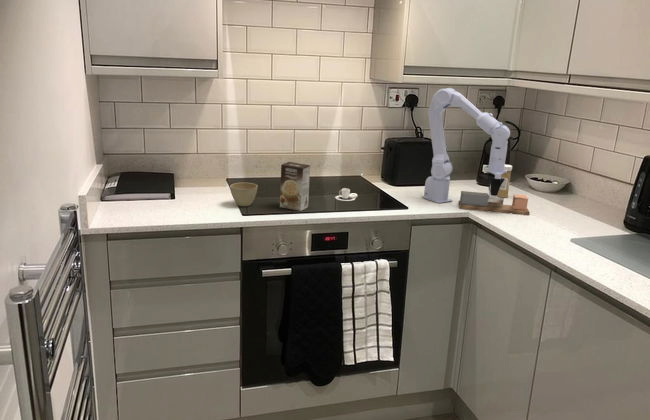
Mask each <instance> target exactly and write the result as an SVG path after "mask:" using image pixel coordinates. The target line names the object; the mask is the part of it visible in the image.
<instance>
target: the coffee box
mask: <svg viewBox="0 0 650 420" xmlns="http://www.w3.org/2000/svg"><path fill="white" fill-rule="evenodd" d="M310 170H311V165H310V164H306V163H301V162H300V163H299V162H294V161H287V162H285V163H282V164H281V165H280V190H279V191H280V192H279V208H284V209H289V210H293V211H299V212H300V211H303V210H305V209H307V208H309V196H310V195H309V193H310V173H311V171H310Z"/></svg>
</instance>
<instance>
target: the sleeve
mask: <svg viewBox="0 0 650 420" xmlns="http://www.w3.org/2000/svg"><path fill="white" fill-rule="evenodd" d="M488 197H489V192H478V191H468V190H467V191H466V190H465V191H464V190H461V191H460V197H459V201H460V205H469V206H480V207H487V205H488Z"/></svg>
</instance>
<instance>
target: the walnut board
mask: <svg viewBox="0 0 650 420" xmlns="http://www.w3.org/2000/svg"><path fill="white" fill-rule="evenodd" d="M457 203H458V208H459V209H460V210H466V211H467V210H468V211H477V210H478V212H479V211H480V212H488V211H491V212H490V213H499V212H500V213H501V214H510V213H512V214H511V215H522V216H523V215H524V216H530V211H529V209H528V208H527V209H526V211H521V210H514V209H513V207H512V204H504V203H503V205H495V204H488V205H487V207H480V206H469V205H460V200H458V202H457Z"/></svg>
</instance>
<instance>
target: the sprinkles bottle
mask: <svg viewBox="0 0 650 420" xmlns="http://www.w3.org/2000/svg"><path fill="white" fill-rule="evenodd" d="M504 170H507V173H503V174H502V175H501V178H504V179H505V180H504V182H503V183H502V184H501V186H500V189H499V191H498V194H497V196H496V197H499V198H504V199H505V198H508V197H509V190H510V183H511V175H512V174H511V173H512V170H513V165H511V164H505V167H504Z"/></svg>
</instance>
